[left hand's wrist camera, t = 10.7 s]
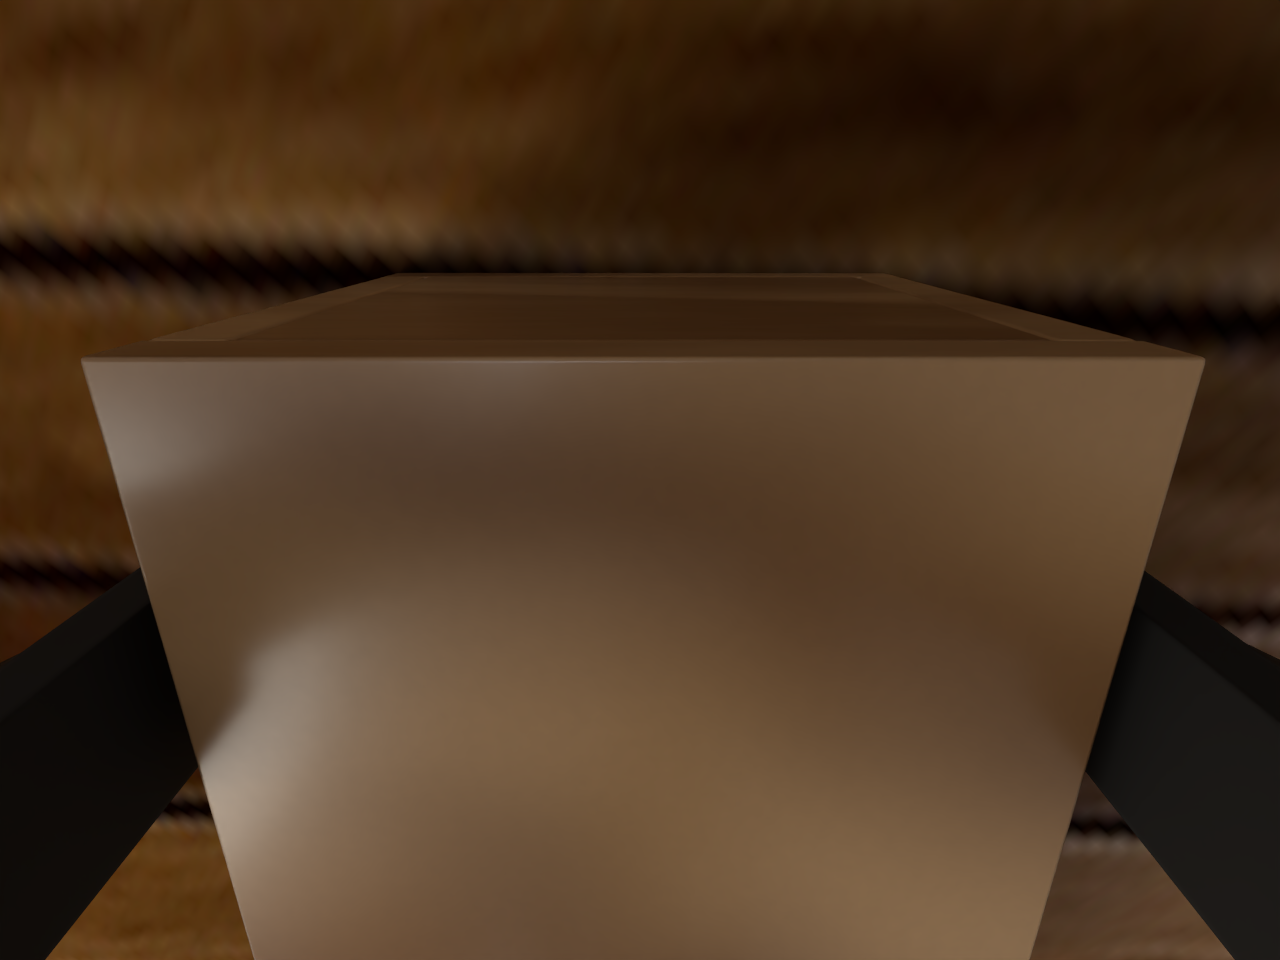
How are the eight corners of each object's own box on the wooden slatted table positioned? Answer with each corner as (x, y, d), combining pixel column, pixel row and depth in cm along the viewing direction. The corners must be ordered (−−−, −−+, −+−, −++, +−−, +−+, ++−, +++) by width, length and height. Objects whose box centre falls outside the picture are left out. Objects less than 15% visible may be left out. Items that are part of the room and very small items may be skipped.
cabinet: (809, 903, 24) (916, 1348, 15) (472, 903, 24) (365, 1347, 15) (886, 272, 16) (1210, 357, 7) (396, 272, 16) (76, 356, 7)
